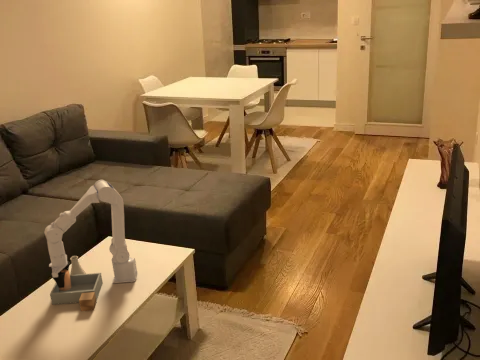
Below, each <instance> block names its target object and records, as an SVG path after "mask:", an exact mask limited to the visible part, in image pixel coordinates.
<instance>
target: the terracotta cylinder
mask: <svg viewBox="0 0 480 360" xmlns="http://www.w3.org/2000/svg"><path fill="white" fill-rule="evenodd" d="M61 272H66V273H65V277H64V281H65V286H64V288H59V290H60V291H67V290H69V289H71V287H72V285H71V279H70V269H69V270H66V269H64V270H61Z"/></svg>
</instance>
